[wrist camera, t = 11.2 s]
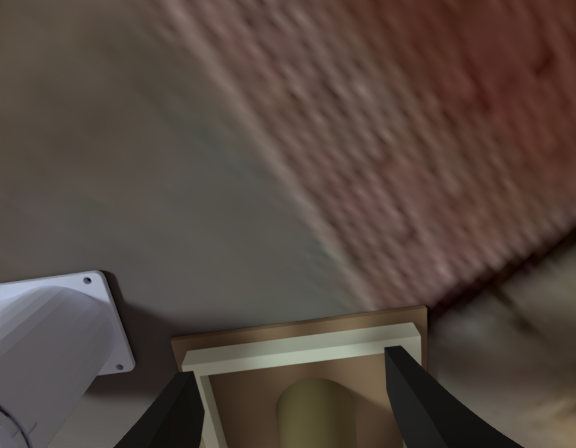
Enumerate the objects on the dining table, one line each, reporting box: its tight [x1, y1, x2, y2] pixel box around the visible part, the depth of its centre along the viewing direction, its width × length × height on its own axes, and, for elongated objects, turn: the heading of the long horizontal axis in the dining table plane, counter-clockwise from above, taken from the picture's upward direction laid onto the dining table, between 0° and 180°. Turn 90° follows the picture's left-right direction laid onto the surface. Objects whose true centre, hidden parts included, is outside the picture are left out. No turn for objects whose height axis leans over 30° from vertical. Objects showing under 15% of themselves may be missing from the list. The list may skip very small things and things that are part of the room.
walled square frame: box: [182, 322, 421, 448], centre depth 26 cm, size 16×16×2 cm
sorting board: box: [170, 305, 428, 448], centre depth 27 cm, size 18×18×1 cm
